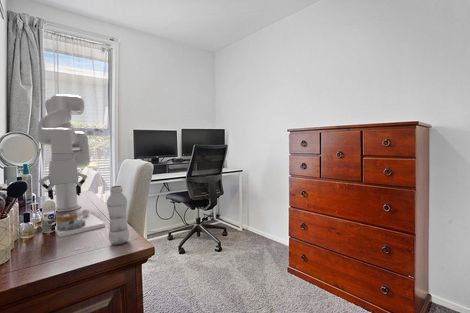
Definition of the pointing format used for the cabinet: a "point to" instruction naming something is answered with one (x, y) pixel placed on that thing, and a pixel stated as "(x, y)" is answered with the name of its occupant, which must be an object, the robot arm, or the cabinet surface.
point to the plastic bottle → (117, 216)
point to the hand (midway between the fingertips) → (65, 196)
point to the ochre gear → (65, 218)
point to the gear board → (79, 224)
